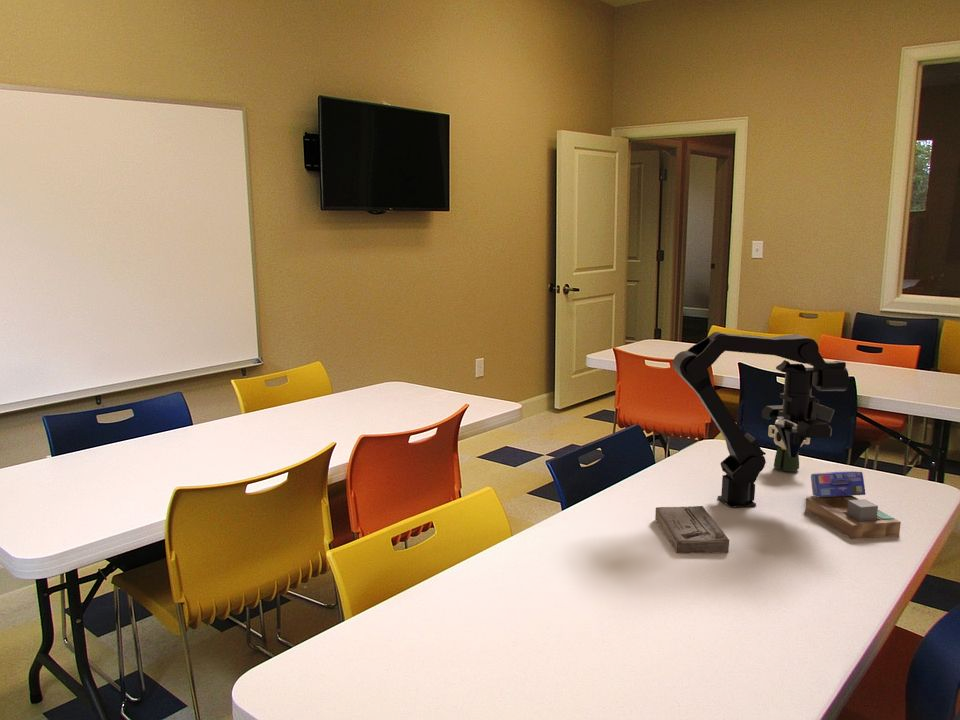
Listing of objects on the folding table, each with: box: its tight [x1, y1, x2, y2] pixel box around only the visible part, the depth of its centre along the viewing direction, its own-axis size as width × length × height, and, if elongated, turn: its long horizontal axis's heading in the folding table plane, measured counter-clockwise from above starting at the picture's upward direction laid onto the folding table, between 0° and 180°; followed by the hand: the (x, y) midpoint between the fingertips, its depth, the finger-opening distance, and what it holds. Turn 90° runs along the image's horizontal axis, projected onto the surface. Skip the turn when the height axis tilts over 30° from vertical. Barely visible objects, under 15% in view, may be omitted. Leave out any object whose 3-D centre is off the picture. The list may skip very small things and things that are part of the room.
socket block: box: [805, 495, 902, 540], centre depth 160 cm, size 11×16×3 cm
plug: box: [847, 498, 879, 522], centre depth 156 cm, size 4×4×6 cm
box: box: [654, 505, 730, 554], centre depth 153 cm, size 11×17×3 cm, turn 1°
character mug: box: [767, 419, 811, 472], centre depth 195 cm, size 11×7×13 cm, turn 46°
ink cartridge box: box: [810, 470, 866, 497], centre depth 169 cm, size 10×6×14 cm
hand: (792, 457), depth 170 cm, fingers closed
